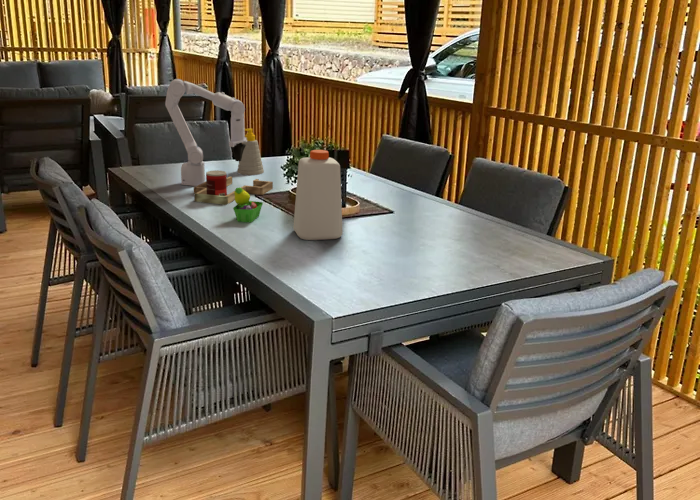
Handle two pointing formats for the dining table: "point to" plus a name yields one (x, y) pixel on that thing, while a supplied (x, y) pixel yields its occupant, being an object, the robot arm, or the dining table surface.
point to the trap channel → (257, 188)
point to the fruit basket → (246, 206)
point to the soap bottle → (250, 157)
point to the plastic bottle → (318, 198)
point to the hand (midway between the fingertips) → (238, 161)
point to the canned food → (216, 183)
